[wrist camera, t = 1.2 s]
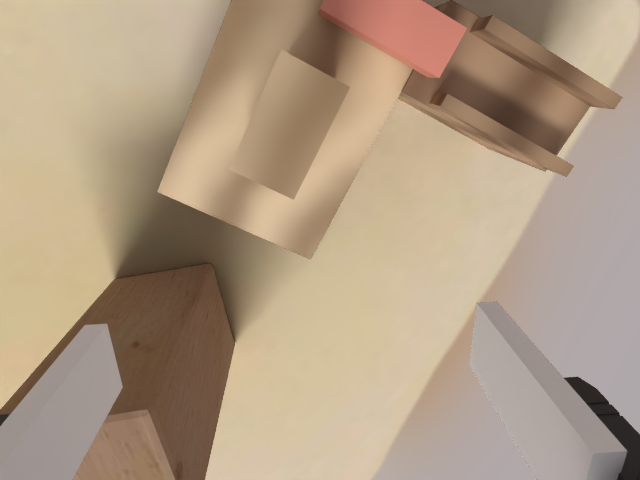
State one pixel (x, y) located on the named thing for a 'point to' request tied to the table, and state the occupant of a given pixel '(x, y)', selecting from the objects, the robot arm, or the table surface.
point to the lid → (281, 121)
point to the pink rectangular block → (400, 30)
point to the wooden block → (156, 375)
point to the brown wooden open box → (507, 92)
